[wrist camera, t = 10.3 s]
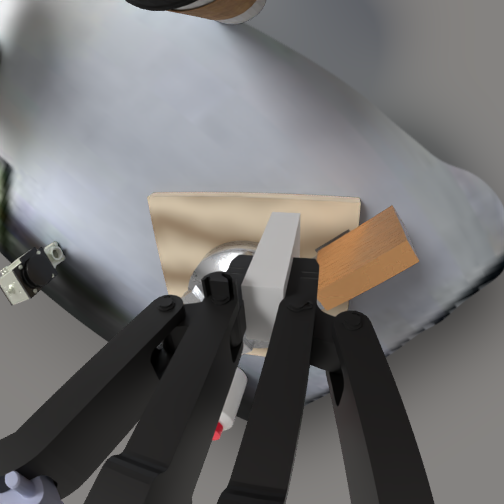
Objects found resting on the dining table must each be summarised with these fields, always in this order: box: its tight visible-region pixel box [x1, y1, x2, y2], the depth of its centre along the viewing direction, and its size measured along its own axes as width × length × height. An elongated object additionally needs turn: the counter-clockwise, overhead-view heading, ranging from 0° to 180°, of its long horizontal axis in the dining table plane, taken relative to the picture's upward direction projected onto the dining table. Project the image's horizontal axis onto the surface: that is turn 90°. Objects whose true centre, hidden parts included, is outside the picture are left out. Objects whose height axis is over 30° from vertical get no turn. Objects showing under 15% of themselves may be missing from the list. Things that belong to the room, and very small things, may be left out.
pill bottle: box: [212, 367, 247, 440], centre depth 43 cm, size 8×8×11 cm
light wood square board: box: [147, 192, 361, 357], centre depth 36 cm, size 22×22×2 cm
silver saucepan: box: [181, 206, 419, 355], centre depth 29 cm, size 24×13×8 cm, turn 131°
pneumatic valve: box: [0, 241, 65, 305], centre depth 38 cm, size 6×12×12 cm, turn 114°
